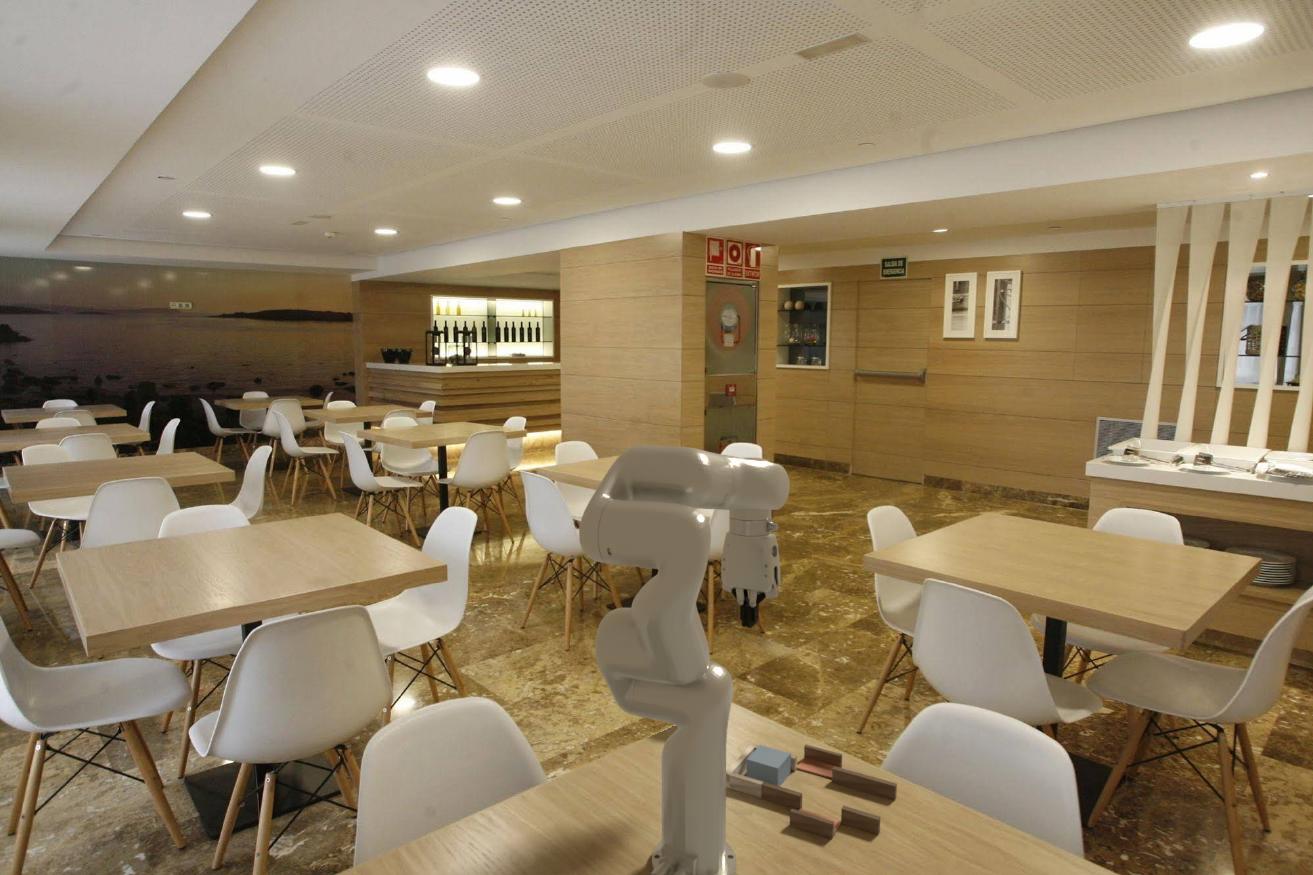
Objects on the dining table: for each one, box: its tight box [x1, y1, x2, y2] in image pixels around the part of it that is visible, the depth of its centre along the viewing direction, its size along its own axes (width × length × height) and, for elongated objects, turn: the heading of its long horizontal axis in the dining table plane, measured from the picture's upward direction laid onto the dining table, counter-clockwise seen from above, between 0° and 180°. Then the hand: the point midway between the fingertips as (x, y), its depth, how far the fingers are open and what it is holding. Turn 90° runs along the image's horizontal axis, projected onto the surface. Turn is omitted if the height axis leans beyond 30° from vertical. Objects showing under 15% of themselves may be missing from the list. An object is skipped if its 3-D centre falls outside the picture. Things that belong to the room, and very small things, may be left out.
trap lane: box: [726, 743, 898, 840], centre depth 132 cm, size 22×27×2 cm
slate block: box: [746, 744, 792, 787], centre depth 137 cm, size 6×6×4 cm
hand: (749, 625), depth 138 cm, fingers closed
